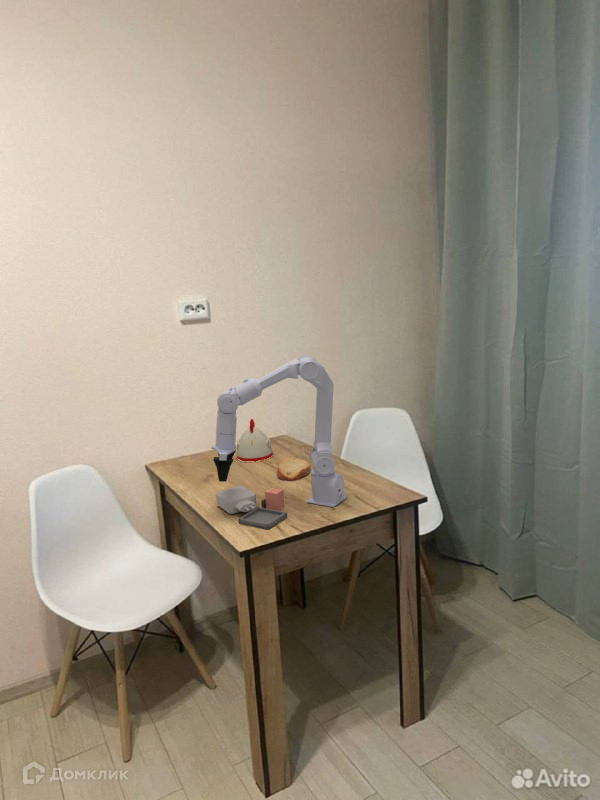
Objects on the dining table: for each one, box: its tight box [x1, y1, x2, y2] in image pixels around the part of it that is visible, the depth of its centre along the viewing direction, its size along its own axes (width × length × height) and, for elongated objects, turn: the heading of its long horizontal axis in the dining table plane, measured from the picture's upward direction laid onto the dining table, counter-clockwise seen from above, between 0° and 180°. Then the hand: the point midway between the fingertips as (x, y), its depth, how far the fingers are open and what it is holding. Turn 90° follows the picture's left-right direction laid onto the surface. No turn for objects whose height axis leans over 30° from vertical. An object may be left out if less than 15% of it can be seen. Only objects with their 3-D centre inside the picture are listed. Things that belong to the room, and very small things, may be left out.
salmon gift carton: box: [264, 487, 286, 511], centre depth 173 cm, size 4×4×6 cm
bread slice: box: [276, 457, 312, 482], centre depth 207 cm, size 18×18×4 cm
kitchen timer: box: [236, 418, 274, 461], centre depth 225 cm, size 14×14×15 cm
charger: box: [215, 485, 258, 515], centre depth 174 cm, size 5×9×15 cm
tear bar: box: [260, 498, 266, 508], centre depth 175 cm, size 1×6×3 cm, turn 148°
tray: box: [238, 506, 288, 531], centre depth 165 cm, size 10×9×2 cm
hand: (223, 477), depth 172 cm, fingers open, 7 cm apart
